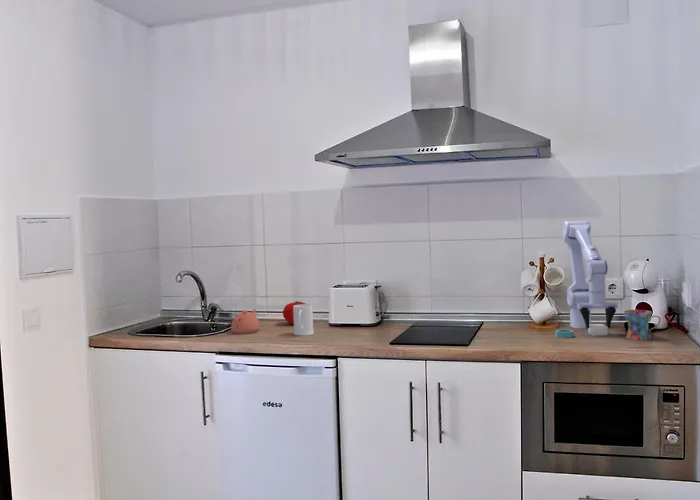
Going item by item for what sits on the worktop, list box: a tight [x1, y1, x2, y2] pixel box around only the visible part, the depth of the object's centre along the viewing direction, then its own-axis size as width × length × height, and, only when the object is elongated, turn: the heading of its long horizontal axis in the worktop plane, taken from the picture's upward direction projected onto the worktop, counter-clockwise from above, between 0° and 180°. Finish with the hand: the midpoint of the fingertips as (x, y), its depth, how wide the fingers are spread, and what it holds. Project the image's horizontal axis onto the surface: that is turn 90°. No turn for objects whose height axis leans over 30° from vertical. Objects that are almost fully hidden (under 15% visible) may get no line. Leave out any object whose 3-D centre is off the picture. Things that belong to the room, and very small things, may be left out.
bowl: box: [554, 328, 575, 339], centre depth 247 cm, size 6×6×3 cm
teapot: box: [230, 308, 261, 335], centre depth 288 cm, size 12×18×10 cm
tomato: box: [282, 300, 306, 325], centre depth 304 cm, size 13×12×11 cm
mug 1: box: [293, 303, 315, 337], centre depth 276 cm, size 12×8×12 cm
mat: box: [577, 330, 620, 339], centre depth 249 cm, size 12×12×1 cm
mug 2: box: [623, 309, 661, 341], centre depth 239 cm, size 12×9×11 cm
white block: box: [587, 323, 609, 336], centre depth 248 cm, size 5×5×3 cm
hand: (597, 327), depth 248 cm, fingers open, 7 cm apart
